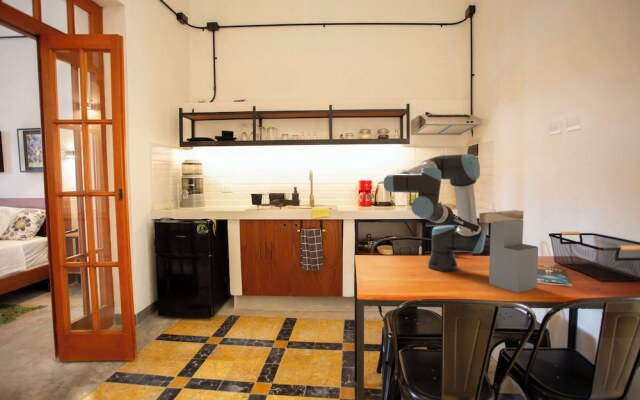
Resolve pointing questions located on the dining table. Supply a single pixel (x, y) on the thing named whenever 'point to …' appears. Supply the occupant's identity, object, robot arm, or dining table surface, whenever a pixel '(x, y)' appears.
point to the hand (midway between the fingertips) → (464, 223)
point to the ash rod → (500, 216)
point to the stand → (512, 258)
